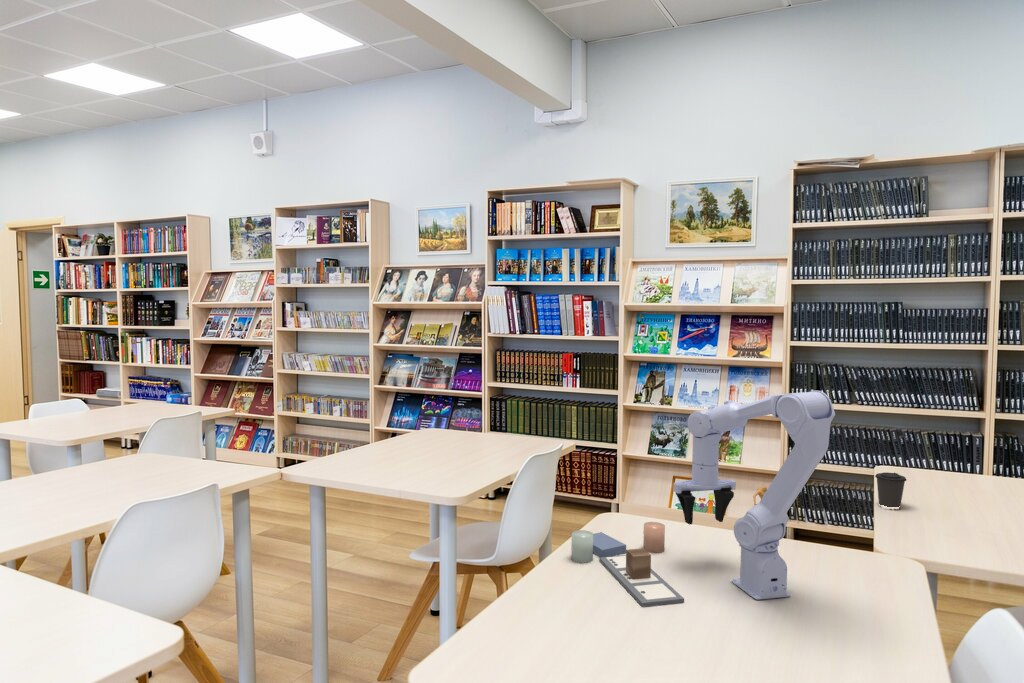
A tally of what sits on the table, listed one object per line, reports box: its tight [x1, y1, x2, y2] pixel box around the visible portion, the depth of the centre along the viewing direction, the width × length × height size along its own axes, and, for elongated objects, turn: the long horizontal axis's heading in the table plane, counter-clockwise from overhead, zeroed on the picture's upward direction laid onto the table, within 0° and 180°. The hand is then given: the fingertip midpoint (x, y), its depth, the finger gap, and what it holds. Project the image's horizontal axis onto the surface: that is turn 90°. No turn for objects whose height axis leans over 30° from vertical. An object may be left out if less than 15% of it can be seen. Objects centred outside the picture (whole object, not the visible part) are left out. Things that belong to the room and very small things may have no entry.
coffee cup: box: [875, 472, 907, 507], centre depth 198 cm, size 8×8×10 cm
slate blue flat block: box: [593, 531, 627, 558], centre depth 164 cm, size 10×7×2 cm
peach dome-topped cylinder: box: [642, 521, 666, 554], centre depth 164 cm, size 5×5×6 cm
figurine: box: [752, 486, 768, 507], centre depth 176 cm, size 8×6×12 cm
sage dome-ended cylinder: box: [570, 529, 594, 564], centre depth 157 cm, size 5×5×6 cm
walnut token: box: [625, 548, 652, 580], centre depth 146 cm, size 4×4×5 cm
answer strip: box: [598, 554, 685, 608], centre depth 146 cm, size 24×9×1 cm, turn 13°
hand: (703, 521), depth 154 cm, fingers open, 7 cm apart
